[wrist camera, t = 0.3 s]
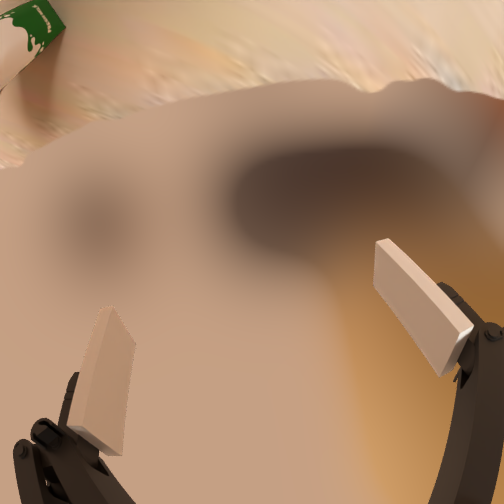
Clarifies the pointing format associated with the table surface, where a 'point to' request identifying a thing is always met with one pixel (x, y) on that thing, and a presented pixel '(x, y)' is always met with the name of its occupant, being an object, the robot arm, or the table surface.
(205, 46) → the table surface
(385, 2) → the table surface
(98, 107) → the table surface
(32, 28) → the soya milk
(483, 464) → the robot arm
